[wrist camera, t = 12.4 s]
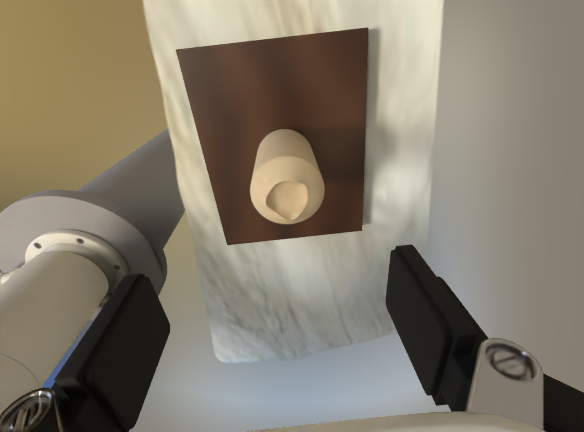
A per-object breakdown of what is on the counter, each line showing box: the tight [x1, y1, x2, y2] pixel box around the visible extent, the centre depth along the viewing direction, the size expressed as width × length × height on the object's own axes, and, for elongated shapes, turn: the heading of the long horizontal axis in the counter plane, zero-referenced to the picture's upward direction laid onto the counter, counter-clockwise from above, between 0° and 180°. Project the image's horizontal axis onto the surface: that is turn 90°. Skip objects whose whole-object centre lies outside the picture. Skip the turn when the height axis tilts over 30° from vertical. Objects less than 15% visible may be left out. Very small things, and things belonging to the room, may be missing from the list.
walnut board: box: [176, 28, 368, 245], centre depth 29 cm, size 16×20×2 cm
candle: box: [250, 129, 325, 224], centre depth 24 cm, size 6×6×10 cm
